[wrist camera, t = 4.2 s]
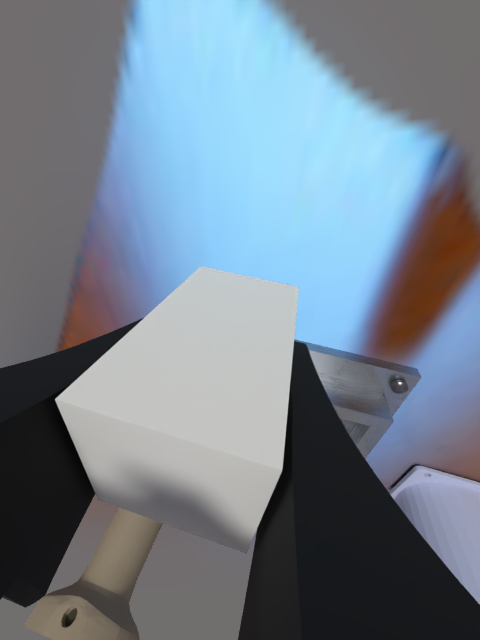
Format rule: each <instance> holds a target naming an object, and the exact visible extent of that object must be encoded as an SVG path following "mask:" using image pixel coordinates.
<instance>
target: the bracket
mask: <svg viewBox="0 0 480 640" xmlns="http://www.w3.org/2000/svg"><path fill="white" fill-rule="evenodd" d="M294 341H297V342H301V343H305V344H306V345H307V347H308V350H309V352H310V355H311V358H312V361H313V363H314V366H315V368H316V371H317V373H318V375H319V378H320V380H321V382H322V384H323V386H324V388H325V390H326V393H327V395H328V397H329V399H330V401H331V403H332V405H333V407H334V408H335V410H336V412H337V414H338V416H339V418H340V419H341V421H342V423H343V425H344V426H345V428H346V430H347V432H348V433H349V435H350V437H351V438H352V440H353V441H354V443H355V444H356V446H357V448H358V449H359V451H360V452H361V454H362V455H363V457H364V458H366V457H367V455H368V454H369V453H370V452H371V450H372V449H373V448H374V446H375V445H376V444H377V442H378V441H379V440H380V438H381V437H382V436H383V435H384V433H385V432H386V431H387V429H388V428H389V427H390V425H391V424H392V423H393V418H392V416H393V415H394V413H395V412H396V411H397V409H398V408H399V407H400V405H401V404H402V403H403V401H404V400H405V399H406V397H407V396H408V395H409V393H410V392H411V391H412V389H413V388H414V387H415V385H416V384H417V383H418V381H419V380H420V379H421V376H420V374H419V372H418V370H417V369H415V368H411V367H407V366H402V365H398V364H394V363H390V362H386V361H382V360H377V359H373V358H369V357H365V356H361V355H357V354H352V353H348V352H344V351H340V350H336V349H332V348H327V347H323V346H319V345H315V344H311V343H307V342H302V341H298V340H294Z"/></svg>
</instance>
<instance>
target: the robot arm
mask: <svg viewBox="0 0 480 640" xmlns="http://www.w3.org/2000/svg"><path fill="white" fill-rule="evenodd" d="M143 319H144V318H142V319H140V320H138V321H136V322H133V323H131V324H129V325H127V326H124V327H122V328H120V329H117V330H115V331H113V332H110V333H108V334H105V335H103V336H100V337H98V338H95V339H92V340H90V341H87V342H85V343H82V344H80V345H77V346H74V347H71V348H68V349H66V350H63V351H60V352H56V353H53V354H50V355H47V356H44V357H41V358H37V359H34V360H30V361H27V362H23V363H19V364H15V365H11V366H8V367H4V368H0V599H1V598H2V597H3V598H5V599H7V600H10V601H12V602H14V603H16V604H19V605H21V606H23V607H27V606H30V605H31V604H33V603H35V602H36V601H38V600H39V599H41V598H42V597H43V596H45V594H46V592H47V590H48V588H49V586H50V583H51V581H52V579H53V577H54V575H55V573H56V571H57V569H58V567H59V565H60V563H61V560H62V559H63V556H64V554H65V552H66V550H67V548H68V546H69V544H70V542H71V540H72V538H73V536H74V534H75V532H76V530H77V528H78V526H79V524H80V522H81V520H82V518H83V516H84V514H85V513H86V511H87V509H88V507H89V505H90V503H91V501H92V499H93V497H94V495H95V492H94V489H93V487H92V485H91V482H90V480H89V478H88V475H87V473H86V471H85V468H84V466H83V464H82V461H81V459H80V457H79V454H78V452H77V450H76V447H75V445H74V443H73V441H72V438H71V436H70V434H69V431H68V429H67V427H66V424H65V422H64V420H63V417H62V415H61V413H60V410H59V408H58V406H57V403H56V401H55V399H56V398H57V397H58V396H59V395H60V394H61V393H62V392H63V391H64V390H66V389H67V388H68V387H69V386H70V385H71V384H72V383H73V382H74V381H75V380H77V379H78V378H79V377H80V376H81V375H82V374H83V373H84V372H85V371H86V370H88V369H89V368H90V367H91V366H92V365H93V364H94V363H95V362H96V361H97V360H99V359H100V358H101V357H102V356H103V355H104V354H105V353H106V352H107V351H108V350H110V349H111V348H112V347H113V346H114V345H115V344H116V343H117V342H118V341H119V340H121V339H122V338H123V337H124V336H125V335H126V334H127V333H128V332H129V331H130V330H132V329H133V328H134V327H135V326H136V325H137V324H138V323H139V322H140V321H141V320H143ZM238 640H480V482H476V481H473V480H469V479H466V478H462V477H459V476H455V475H452V474H448V473H445V472H441V471H438V470H434V469H431V468H427V467H424V466H415V467H414V468H413V469H412V470H411V471H409V472H408V473H407V474H406V475H405V476H404V477H403V478H402V479H401V480H400V481H399V482H398V483H397V484H396V485H395V486H394V487H393V488H392V489H391V490H390V491H389V492H388V491H387V490H386V488H385V487H384V485H383V484H382V483H381V481H380V480H379V479H378V477H377V476H376V475H375V473H374V472H373V470H372V469H371V467H370V466H369V464H368V463H367V461H366V460H365V458H364V457H363V455H362V454H361V452H360V451H359V449H358V448H357V446H356V444H355V443H354V441H353V440H352V438H351V437H350V435H349V433H348V432H347V430H346V428H345V426H344V425H343V423H342V421H341V419H340V418H339V416H338V414H337V412H336V410H335V408H334V407H333V405H332V403H331V401H330V399H329V397H328V395H327V393H326V390H325V388H324V386H323V384H322V382H321V380H320V378H319V375H318V373H317V371H316V368H315V366H314V363H313V361H312V358H311V355H310V352H309V350H308V347H307V345H306V344H305V343H301V342H297V341H294V347H293V358H292V369H291V380H290V391H289V402H288V414H287V425H286V436H285V447H284V458H283V469H282V472H281V475H280V477H279V479H278V482H277V484H276V486H275V489H274V491H273V493H272V495H271V498H270V500H269V502H268V505H267V507H266V509H265V512H264V514H263V516H262V519H261V521H260V523H259V525H258V528H257V534H256V541H255V547H254V553H253V558H252V564H251V569H250V575H249V581H248V587H247V592H246V598H245V604H244V609H243V615H242V620H241V626H240V631H239V637H238Z"/></svg>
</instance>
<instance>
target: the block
mask: <svg viewBox="0 0 480 640" xmlns="http://www.w3.org/2000/svg"><path fill="white" fill-rule="evenodd" d="M298 291H299V287H296V286H292V285H287V284H282V283H277V282H273V281H268V280H263V279H259V278H254V277H249V276H245V275H240V274H235V273H230V272H226V271H221V270H216V269H212V268H207V267H202V266H201V267H200V268H199V269H198V270H196V271H195V272H194V273H193V274H192V275H191V276H190V277H189V278H188V279H187V280H185V281H184V282H183V283H182V284H181V285H180V286H179V287H178V288H177V289H176V290H174V291H173V292H172V293H171V294H170V295H169V296H168V297H167V298H166V299H165V300H163V301H162V302H161V303H160V304H159V305H158V306H157V307H156V308H155V309H154V310H152V311H151V312H150V313H149V314H148V315H147V316H146V317H145V318H144V319H143V320H141V321H140V322H139V323H138V324H137V325H136V326H135V327H134V328H133V329H132V330H130V331H129V332H128V333H127V334H126V335H125V336H124V337H123V338H122V339H121V340H119V341H118V342H117V343H116V344H115V345H114V346H113V347H112V348H111V349H110V350H108V351H107V352H106V353H105V354H104V355H103V356H102V357H101V358H100V359H99V360H97V361H96V362H95V363H94V364H93V365H92V366H91V367H90V368H89V369H88V370H86V371H85V372H84V373H83V374H82V375H81V376H80V377H79V378H78V379H77V380H75V381H74V382H73V383H72V384H71V385H70V386H69V387H68V388H67V389H66V390H64V391H63V392H62V393H61V394H60V395H59V396H58V397H57V398H56V399H55V401H56V403H57V406H58V408H59V410H60V413H61V415H62V417H63V420H64V422H65V424H66V427H67V429H68V431H69V434H70V436H71V438H72V441H73V443H74V445H75V447H76V450H77V452H78V454H79V457H80V459H81V461H82V464H83V466H84V468H85V471H86V473H87V475H88V478H89V480H90V482H91V485H92V487H93V489H94V492H95V494H96V496H97V498H98V500H100V501H103V502H106V503H109V504H111V505H114V506H117V507H119V508H122V509H125V510H128V511H130V512H133V513H136V514H139V515H141V516H144V517H147V518H150V519H152V520H155V521H158V522H161V523H164V524H166V525H169V526H172V527H175V528H177V529H180V530H183V531H186V532H189V533H191V534H194V535H197V536H199V537H202V538H205V539H208V540H211V541H213V542H216V543H219V544H221V545H224V546H227V547H230V548H232V549H235V550H238V551H241V552H244V553H247V551H248V549H249V546H250V544H251V541H252V539H253V537H254V535H255V532H256V530H257V528H258V525H259V523H260V521H261V519H262V516H263V514H264V512H265V509H266V507H267V505H268V502H269V500H270V498H271V495H272V493H273V491H274V489H275V486H276V484H277V482H278V479H279V477H280V475H281V472H282V469H283V458H284V447H285V436H286V425H287V414H288V402H289V391H290V380H291V369H292V358H293V347H294V336H295V325H296V313H297V302H298Z"/></svg>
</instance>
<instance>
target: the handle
mask: <svg viewBox="0 0 480 640" xmlns="http://www.w3.org/2000/svg"><path fill="white" fill-rule="evenodd" d="M162 524H163V523H161V522H158V521H155V520H152V519H150V518H147V517H144V516H141V515H139V514H136V513H133V512H130V511H128V510H125V509H122V508H119V507H118V509H117V511H116V513H115V515H114V517H113V519H112V521H111V523H110V525H109V527H108V529H107V531H106V533H105V535H104V536H103V538H102V540H101V542H100V544H99V546H98V548H97V550H96V552H95V554H94V556H93V558H92V560H91V561H90V563H89V565H88V566H87V568H86V569H85V571H84V573H83V574H82V576H81V577H80V579H79V580H78V581H77V582H76V583H74V584H73V585H71V586H68V587H65V588H63V589H59V590H56V591H53V592H51V593H49V594H47V595H45V596H43V598H42V599H41V600H40V602H39V603H38V605H37V606H36V608H35V609H34V611H33V613H32V614H31V616H30V617H29V619H28V621H27V622H26V624H25V625H24V626H25V627H27V628H29V629H31V630H33V631H35V632H38V633H40V634H42V635H44V636H46V637H49V638H51V639H53V640H139V633H138V630H137V627H136V624H135V622H134V620H133V618H132V615H131V612H130V607H129V601H130V598H131V596H132V593H133V590H134V587H135V584H136V581H137V579H138V576H139V574H140V572H141V570H142V567H143V565H144V563H145V561H146V559H147V557H148V554H149V552H150V550H151V548H152V545H153V543H154V541H155V539H156V537H157V534H158V532H159V530H160V528H161V526H162Z"/></svg>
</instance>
